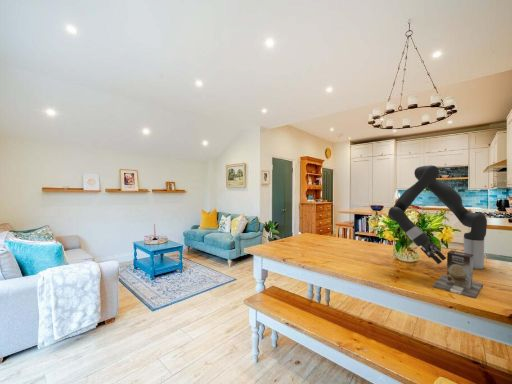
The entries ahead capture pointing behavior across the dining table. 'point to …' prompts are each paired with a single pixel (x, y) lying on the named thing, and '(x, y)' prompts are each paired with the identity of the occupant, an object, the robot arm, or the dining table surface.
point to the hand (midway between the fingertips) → (442, 261)
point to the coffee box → (460, 269)
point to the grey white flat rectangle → (471, 292)
